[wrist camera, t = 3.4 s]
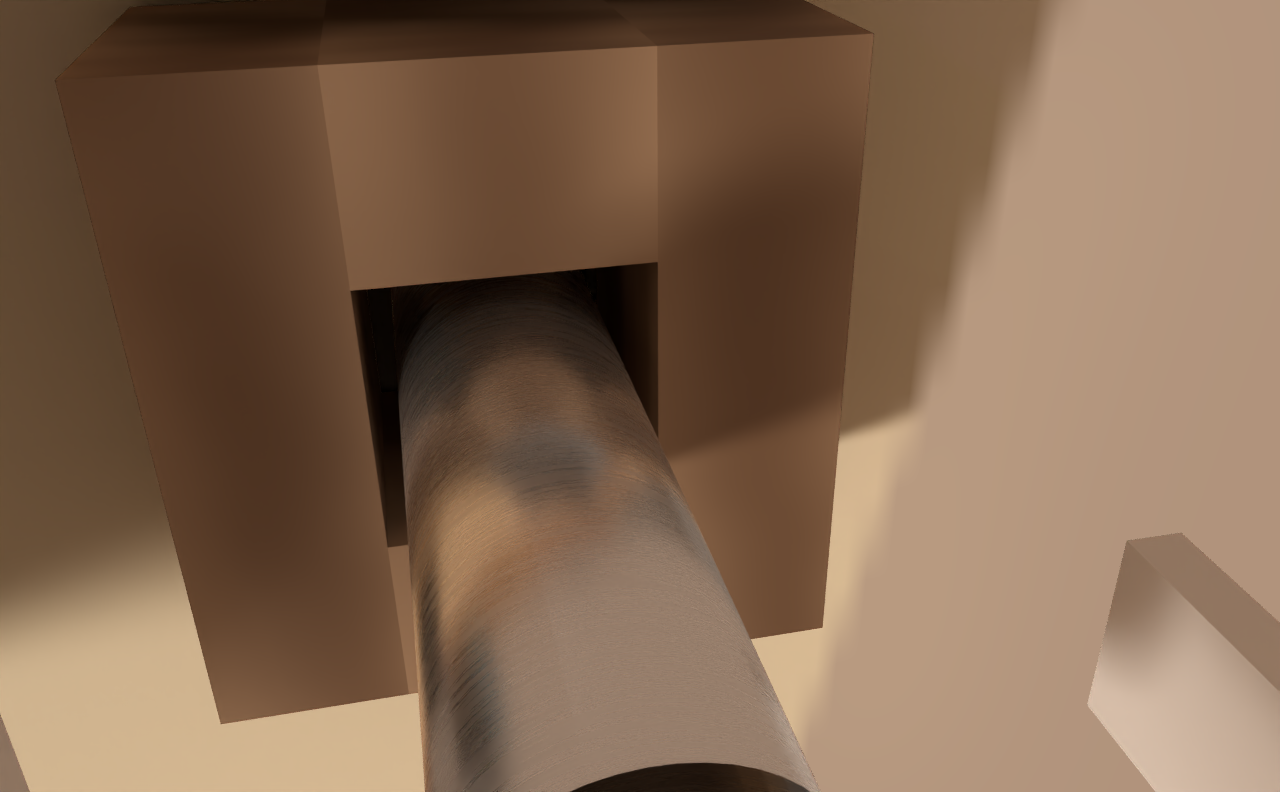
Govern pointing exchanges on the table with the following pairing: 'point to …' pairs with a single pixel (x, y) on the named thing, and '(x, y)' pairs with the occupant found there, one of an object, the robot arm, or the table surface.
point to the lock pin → (563, 564)
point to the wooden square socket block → (463, 278)
